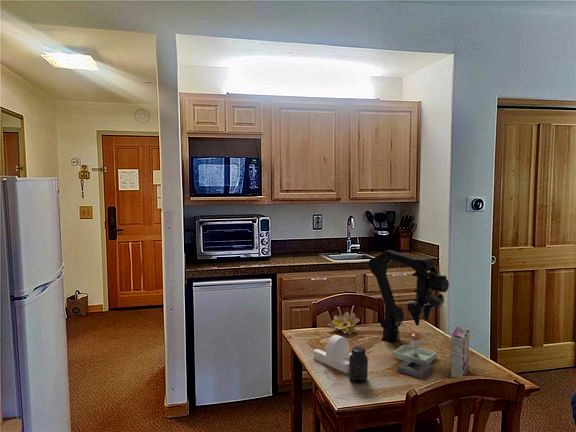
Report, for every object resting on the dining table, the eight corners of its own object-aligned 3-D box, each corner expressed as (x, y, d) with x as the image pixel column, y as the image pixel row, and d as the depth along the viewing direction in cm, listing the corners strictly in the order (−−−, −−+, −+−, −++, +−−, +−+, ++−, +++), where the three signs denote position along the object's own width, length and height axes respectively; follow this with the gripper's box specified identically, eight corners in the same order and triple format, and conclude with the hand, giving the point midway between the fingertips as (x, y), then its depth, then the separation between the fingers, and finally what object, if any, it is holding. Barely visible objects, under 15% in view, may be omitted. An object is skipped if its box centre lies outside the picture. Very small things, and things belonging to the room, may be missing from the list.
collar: (397, 371, 162) (397, 366, 162) (408, 362, 170) (408, 358, 170) (422, 379, 156) (422, 373, 156) (432, 370, 163) (432, 365, 163)
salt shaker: (406, 356, 174) (407, 334, 174) (411, 353, 178) (412, 331, 177) (417, 359, 171) (418, 337, 171) (422, 356, 175) (423, 334, 174)
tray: (393, 357, 175) (393, 351, 175) (404, 349, 183) (404, 344, 183) (425, 367, 166) (426, 360, 166) (436, 358, 174) (436, 352, 174)
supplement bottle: (347, 376, 158) (347, 345, 157) (364, 375, 159) (365, 344, 158) (351, 384, 151) (351, 352, 150) (369, 384, 152) (370, 351, 151)
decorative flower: (321, 325, 209) (326, 306, 209) (338, 326, 216) (342, 307, 216) (342, 336, 197) (347, 316, 197) (358, 337, 204) (363, 317, 204)
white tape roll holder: (362, 366, 167) (362, 339, 166) (346, 373, 161) (346, 345, 160) (329, 352, 180) (329, 327, 180) (313, 359, 174) (313, 333, 173)
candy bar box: (455, 366, 167) (456, 326, 166) (468, 369, 164) (470, 328, 163) (449, 377, 157) (451, 334, 156) (463, 380, 155) (465, 337, 153)
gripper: (432, 295, 168) (431, 333, 169) (450, 286, 182) (448, 321, 183) (406, 290, 176) (405, 326, 177) (425, 282, 189) (424, 316, 191)
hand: (422, 322), depth 182 cm, fingers open, 9 cm apart
